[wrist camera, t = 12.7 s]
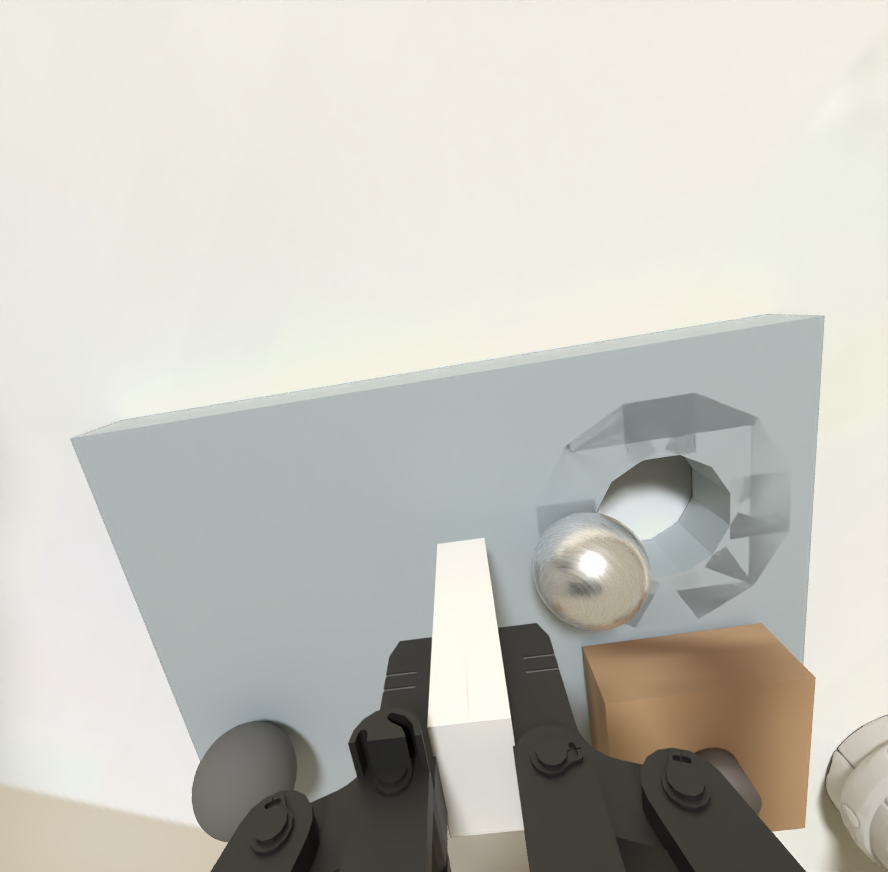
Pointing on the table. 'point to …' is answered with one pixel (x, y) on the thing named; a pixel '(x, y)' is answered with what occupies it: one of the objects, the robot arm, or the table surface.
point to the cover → (710, 710)
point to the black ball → (241, 775)
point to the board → (452, 515)
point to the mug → (863, 788)
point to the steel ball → (591, 571)
